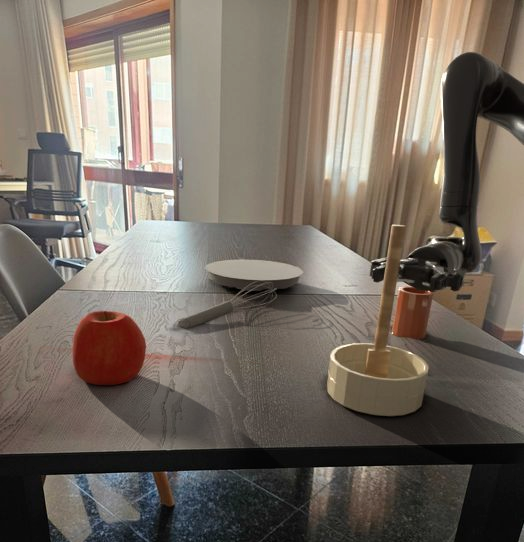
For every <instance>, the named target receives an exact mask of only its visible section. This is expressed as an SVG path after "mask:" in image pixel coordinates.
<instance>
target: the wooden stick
mask: <svg viewBox="0 0 524 542" xmlns="http://www.w3.org/2000/svg"><path fill="white" fill-rule="evenodd" d="M405 233H406V225H403V224H392V225H391V227H390V235H389V242H388V248H387V255H386V257H387V261H386V268H385V275H384V280H383V281H382V288H381V296H380V302H379V307H378V316H377V322H376V329H375V335H374V341H373V344H374V348H373V349H368V354H367V360H366V367H365V374H364V375H368V376H373V377H378V378H387V373H388V367H389V361H390V355H391V352H390V350H386V346H388V341H389V340H388V339H389V334H390V328H391V321H392V314H393V310H394V309H393V308H394V302H395V295H396V289H397V284H398V282H397V277H399V275H398V271H399V265H400V260H402V259H401V258H402V252H403V245H404V239H405Z"/></svg>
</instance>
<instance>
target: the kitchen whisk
mask: <svg viewBox="0 0 524 542" xmlns="http://www.w3.org/2000/svg"><path fill="white" fill-rule="evenodd" d="M261 281H263V280H261ZM256 282H258V281H256ZM264 282H266V281H264ZM253 283H255V282H253ZM253 283H252V284H253ZM266 283H267V284H268V283H269V282H266ZM270 283H272V282H270ZM264 284H265V283H264ZM250 285H251V284H250ZM268 285H269V284H268ZM272 285H273V283H272ZM248 286H249V285H248ZM248 286H247V287H248ZM255 286H257V287H258V286H263V285H262V284H261V285H255ZM269 286H270V285H269ZM251 287H253V286H251ZM265 287H267V286H265ZM245 288H246V287H245ZM245 288H244V289H245ZM249 288H250V287H249ZM255 288H256V287H255ZM255 288H254V289H255ZM268 288H269V287H268ZM272 288H273V286H272ZM244 289H243V290H240V291H239V292H238V293H236V294H235V295H234V297H232V298H231V300H228V301H224V302H221V303H219V304H216V305H214V306H211V307H209V308H206V309H203V310H201V311H198V312H196V313H193V314H191V315H188V316H185V317H183V318H179V319H178V320H176V321H175V322H174V323H173V326H175V325H176V324H177V326H178V327H181V328H185V329H189V328H192V327H195V326H199V325H201V324H207V323H210V322H212V321H214V320H216V319H219V318H221V317H224V316H227V315H228V314H231V313H232V312H233V311H234V312H235V311H236V312H238V311H239V312H246V311H247V312H248V311H250V309H249V308H252V306H253V307H257V306H262V305H264V306H262V307H259V308H253V309H252V311H257V310H260V308H261V309H264V308H266V307H267V306H268V305H270V304H271V302H273V301H274V300H276V299H277V296H278V295H277V292H275V291H277V289H276V288H275V289H271V287H270V289H267V290H265V291H261V292H259V293H256V294H253V295H251V296H248V297H246V298H243V299H241V298H242V297H243V296H245V295H246V294H248V293H250V292H252V291H251V290H250V291H248V290H246V289H245V290H244ZM247 289H248V288H247ZM252 290H253V289H252ZM245 291H247V292H245ZM243 292H244V294H242V295H240V294H241V293H243ZM273 292H274V294H275V298H274V299H273V298H271V299H270V301H268V302H265V303H263V302H264V301H265V300H267V298H268V297H269V296H270V295H271V297H273V294H271V293H273ZM238 295H240V296H239V297H238V298H236V297H237V296H238ZM264 295H267V296H266V297H265V298H264V299H263V300H262V301H260V302H258V303H256V304H254V305H250V306H242V307H240V309H238V307H235V306H237V305H240V304H243V303H245V302H247V301H251V300H254V299H257V298H259V297H262V296H264ZM235 298H236V299H235ZM249 298H250V299H249ZM234 299H235V300H234ZM239 299H241V300H239ZM173 330H175V328H173Z"/></svg>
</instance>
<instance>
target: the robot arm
mask: <svg viewBox="0 0 524 542" xmlns="http://www.w3.org/2000/svg"><path fill="white" fill-rule="evenodd" d="M447 65H448V66H447V67H446V69H445V71H444V73H443V74H442V78H441V83H440V100H441V103H440V104H441V115H442V141H443V143H442V144H443V145H442V146H443V160H442V161H443V165H442V180H441V181H442V182H441V189H440V190H441V191H440V200H439V212H438V219H439V221H440V222H441V224H443V225H446V226H447V225H448V226H453V227H456V228H459V229H460V231H461V232H462V235H463V236H462V237H461V236H440V237H439V236H438V237H434V238H432V239H431V240H430V241H429V244H425V245H423V246H420V247H417V248H415V249H414V250H412V251H411V252H410V253H409V254H408V255H407V256H406V258H405V259H400V265H399V271H398V277H397V283H408V285H410V287H414V288H415V289H418V290H421V291H429V292H434V293H435V292H437V291H445V290H447V288H450V291H452V292H459V291H460V290H461V289H462V287H464V284H465V280H466V274H470V273H473V272H475V271H476V270H477V269H478V268H479V267H480V266H481V265H480V264H481V262H482V258H483V252H482V245H481V241H480V236H479V230H478V229H479V227H478V206H479V198H480V190H481V168H480V162H479V153H478V146H477V145H478V143H477V126H478V125H477V124H478V118H480V119H482V120H485V121H488V122H489V123H492V124H494V125H497V126H499V127H500V128H503V129H504V130H505V131H507V132H508V133H510V134H511V135H512V136H513V137H514V138H515V139H516V140H517V141H518V142H520V144H522V145H523V146H524V83H523V82H522V81H521V80H519V79H518V78H516V77H514V76H513V75H512V74H511V73H509V72H508V71H506V70H505V69H504V68H503V67H502V66H500V65H499V63H496V61H494V60H492V59H491V58H489V57H487V56H486V55H484V54H482V53H479V52H474V51H466V52H463V53H461V54H459V55H457V56H456V57H454V59H452V61H450V63H448V64H447ZM386 261H387V256H385V257H380V258H377V259H374V260H372V261H371V262H370V269H369V277H371V279H372V280H373V281H372V282H373V283H381V282H383V281H384V275H385V268H386Z"/></svg>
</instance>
